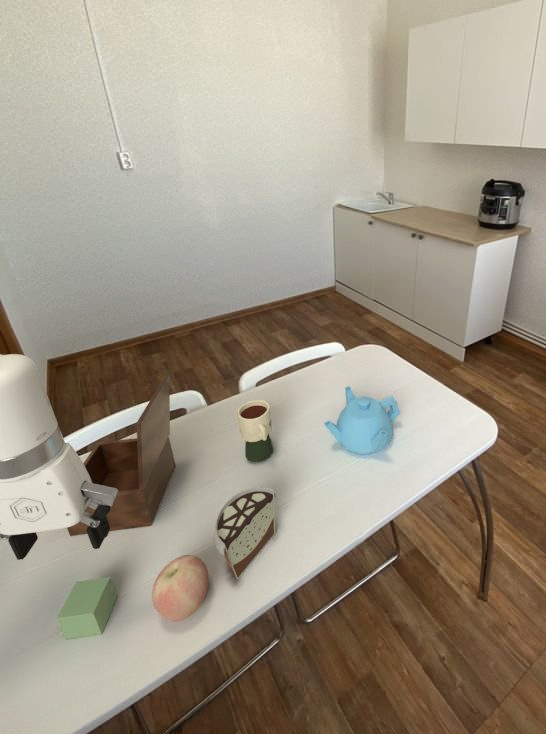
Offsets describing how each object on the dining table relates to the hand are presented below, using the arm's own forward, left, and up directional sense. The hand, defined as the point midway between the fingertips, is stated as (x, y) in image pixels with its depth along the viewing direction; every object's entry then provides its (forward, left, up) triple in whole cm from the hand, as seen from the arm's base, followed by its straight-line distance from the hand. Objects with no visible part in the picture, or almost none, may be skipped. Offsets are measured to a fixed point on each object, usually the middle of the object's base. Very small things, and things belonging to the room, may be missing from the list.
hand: (65, 544), depth 54 cm
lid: (+4, +22, +1) cm, 22 cm away
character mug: (+22, +30, -17) cm, 40 cm away
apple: (+14, 0, -17) cm, 21 cm away
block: (0, 0, -16) cm, 16 cm away
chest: (-4, +22, -16) cm, 28 cm away
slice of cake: (+22, +8, -17) cm, 28 cm away
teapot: (+47, +32, -17) cm, 59 cm away
